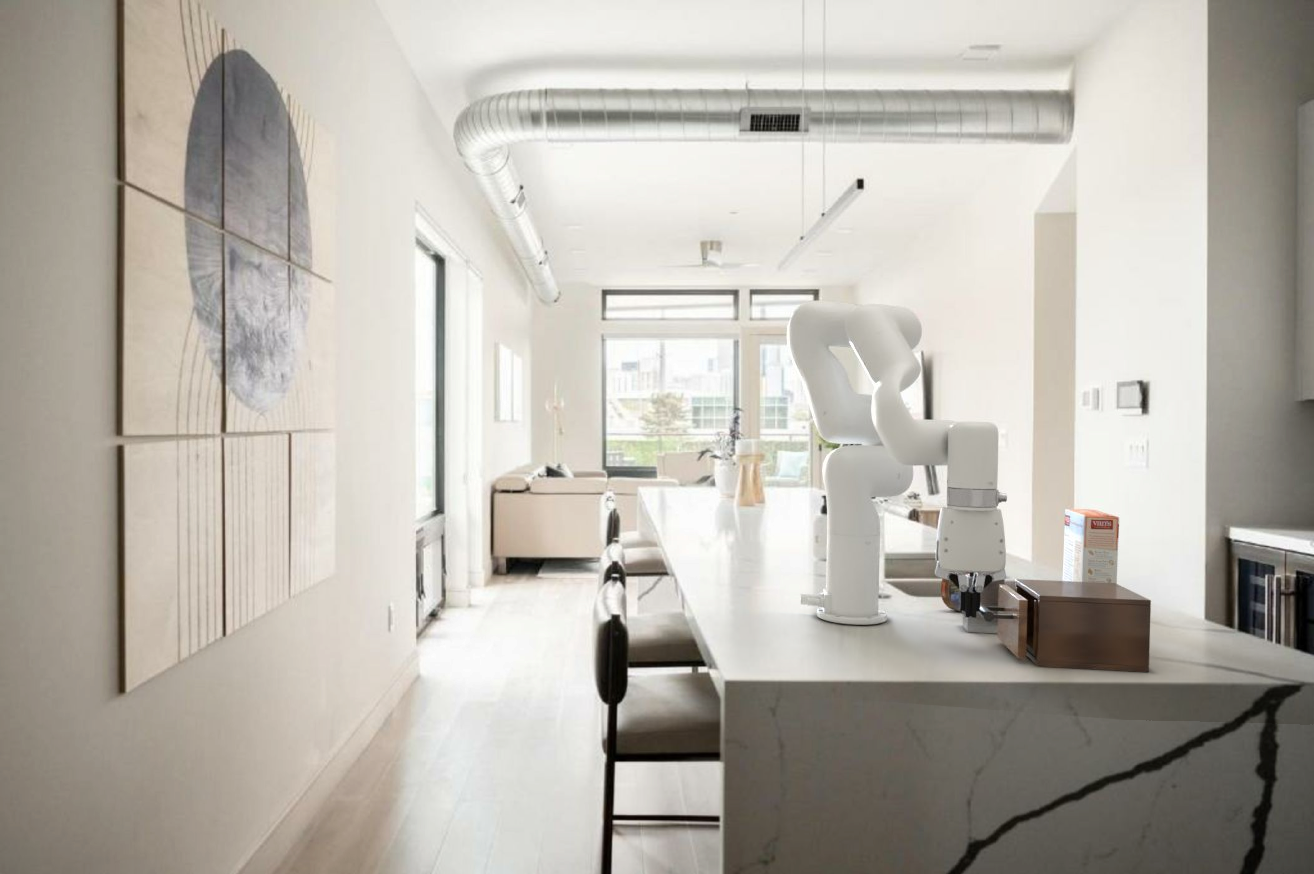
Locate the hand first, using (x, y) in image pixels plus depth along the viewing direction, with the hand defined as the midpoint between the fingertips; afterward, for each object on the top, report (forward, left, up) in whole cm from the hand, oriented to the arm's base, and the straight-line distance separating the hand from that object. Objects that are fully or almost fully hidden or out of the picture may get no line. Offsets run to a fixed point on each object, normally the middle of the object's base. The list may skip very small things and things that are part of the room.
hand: (969, 615), depth 145 cm
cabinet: (+16, 0, -6) cm, 17 cm away
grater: (+5, +16, -6) cm, 18 cm away
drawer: (+11, 0, -5) cm, 12 cm away
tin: (+7, +35, -6) cm, 36 cm away
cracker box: (+24, +21, -6) cm, 33 cm away
